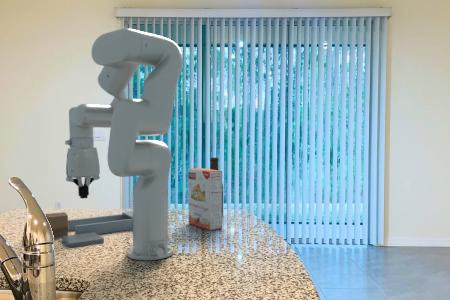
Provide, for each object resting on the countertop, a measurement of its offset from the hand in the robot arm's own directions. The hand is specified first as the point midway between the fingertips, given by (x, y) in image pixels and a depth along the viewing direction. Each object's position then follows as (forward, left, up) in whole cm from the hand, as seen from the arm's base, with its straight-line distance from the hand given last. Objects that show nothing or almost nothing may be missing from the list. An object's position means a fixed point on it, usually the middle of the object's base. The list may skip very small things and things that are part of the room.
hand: (83, 197), depth 131 cm
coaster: (-11, +3, -12) cm, 16 cm away
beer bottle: (0, -53, -12) cm, 54 cm away
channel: (+1, -9, -12) cm, 15 cm away
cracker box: (-15, -39, -12) cm, 43 cm away
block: (+1, +8, -12) cm, 15 cm away
